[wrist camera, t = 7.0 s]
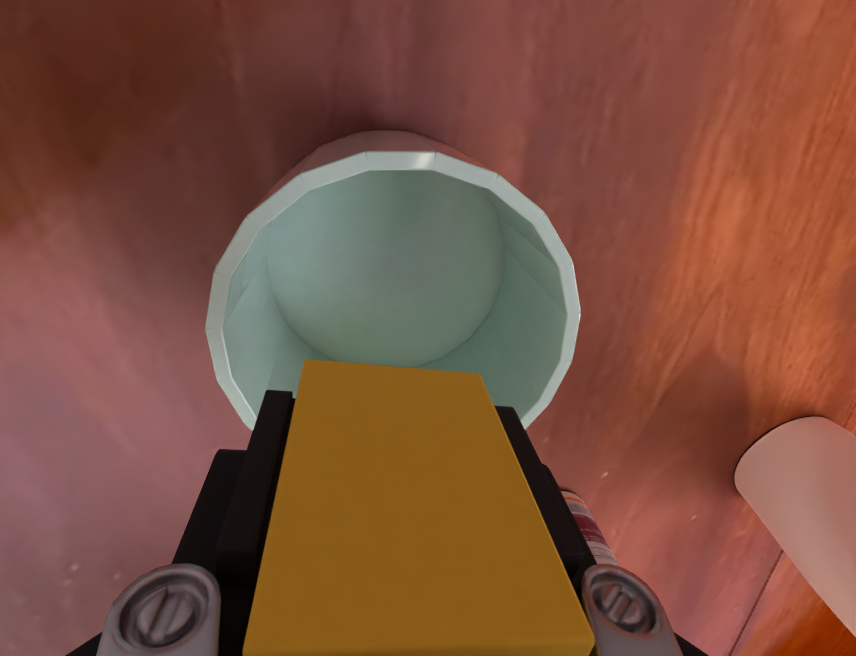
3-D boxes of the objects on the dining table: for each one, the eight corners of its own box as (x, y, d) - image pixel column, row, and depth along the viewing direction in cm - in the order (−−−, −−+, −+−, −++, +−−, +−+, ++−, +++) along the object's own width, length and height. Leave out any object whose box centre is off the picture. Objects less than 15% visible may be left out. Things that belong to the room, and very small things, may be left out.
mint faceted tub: (199, 242, 21) (116, 320, 14) (417, 66, 19) (453, 49, 12) (368, 409, 26) (371, 528, 19) (552, 285, 24) (633, 366, 17)
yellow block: (294, 494, 12) (239, 828, 6) (303, 357, 10) (241, 654, 5) (448, 499, 12) (514, 799, 7) (480, 371, 11) (600, 641, 5)
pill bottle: (529, 547, 33) (578, 679, 26) (509, 505, 31) (556, 636, 23) (591, 522, 33) (660, 649, 25) (576, 478, 30) (646, 602, 23)
